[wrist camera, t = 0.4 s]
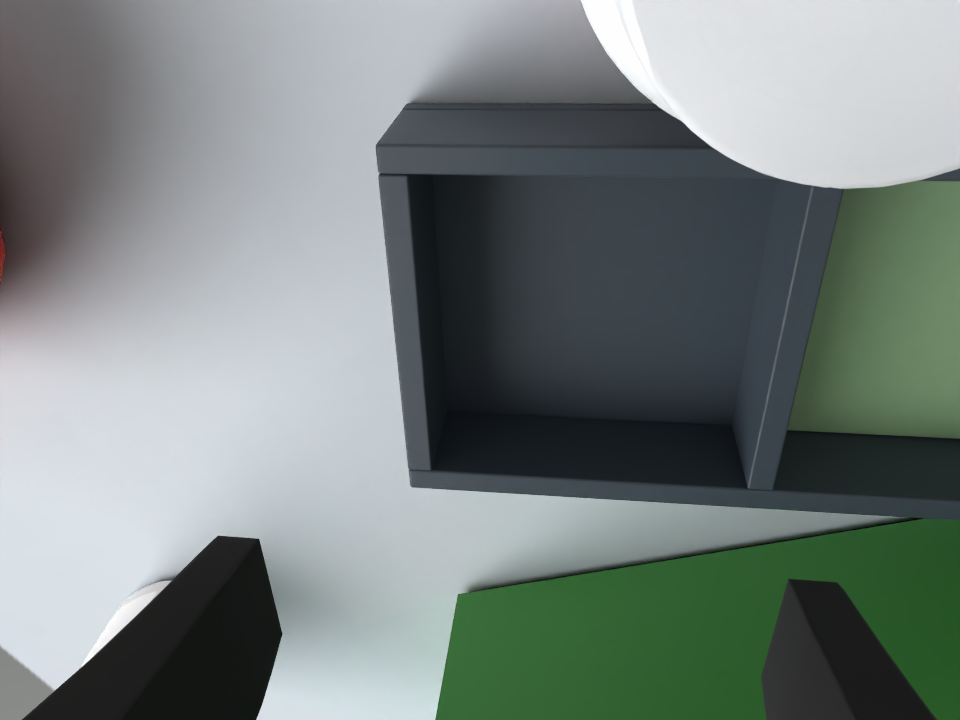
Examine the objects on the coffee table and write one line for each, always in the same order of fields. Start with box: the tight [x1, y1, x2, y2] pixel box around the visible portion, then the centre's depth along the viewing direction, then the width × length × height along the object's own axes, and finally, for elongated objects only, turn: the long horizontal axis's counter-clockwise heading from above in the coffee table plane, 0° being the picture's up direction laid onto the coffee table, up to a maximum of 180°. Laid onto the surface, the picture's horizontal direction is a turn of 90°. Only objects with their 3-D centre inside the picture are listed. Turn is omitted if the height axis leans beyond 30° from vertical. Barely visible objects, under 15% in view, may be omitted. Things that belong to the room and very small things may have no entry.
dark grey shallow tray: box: [376, 104, 960, 520], centre depth 17 cm, size 9×17×3 cm, turn 92°
